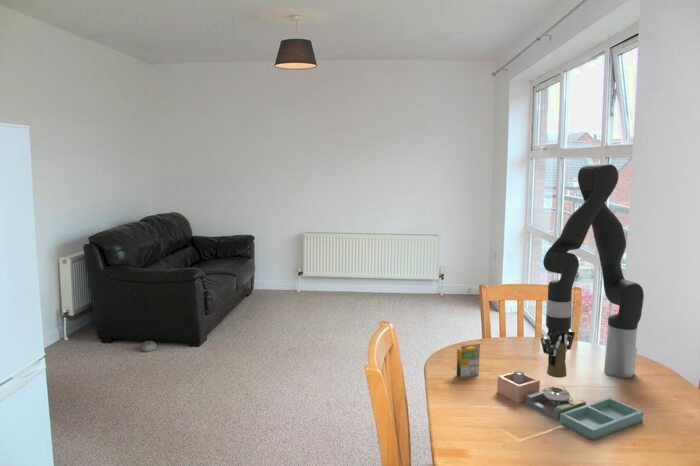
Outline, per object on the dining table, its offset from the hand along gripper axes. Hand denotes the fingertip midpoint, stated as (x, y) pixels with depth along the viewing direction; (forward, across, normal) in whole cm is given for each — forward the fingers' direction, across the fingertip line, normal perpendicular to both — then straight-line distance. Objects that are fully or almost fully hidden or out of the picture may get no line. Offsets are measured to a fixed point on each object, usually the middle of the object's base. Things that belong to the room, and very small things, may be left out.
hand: (556, 364), depth 179 cm
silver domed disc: (+7, +12, +9) cm, 16 cm away
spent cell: (+8, +15, -3) cm, 17 cm away
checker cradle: (+8, +12, +9) cm, 17 cm away
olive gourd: (+4, 0, 0) cm, 4 cm away
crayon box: (+8, +17, -23) cm, 30 cm away
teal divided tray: (+9, +7, +22) cm, 24 cm away
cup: (+8, +15, -3) cm, 17 cm away
